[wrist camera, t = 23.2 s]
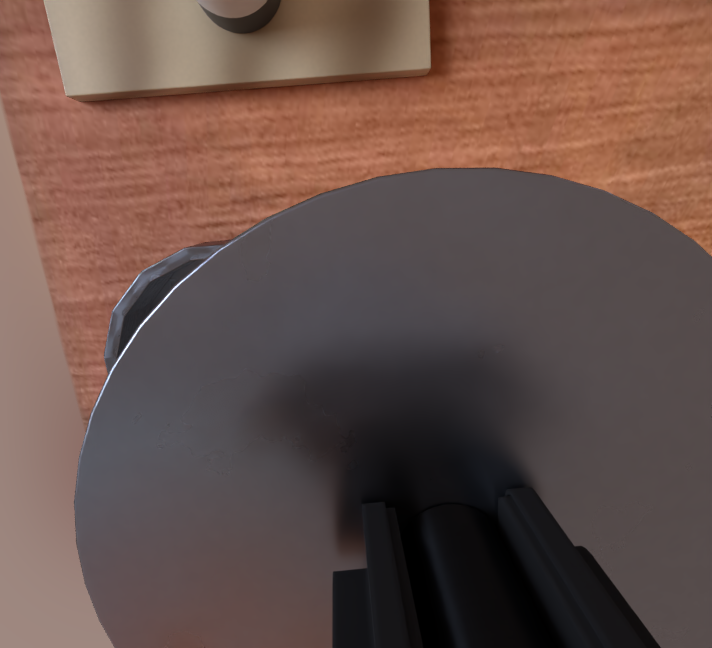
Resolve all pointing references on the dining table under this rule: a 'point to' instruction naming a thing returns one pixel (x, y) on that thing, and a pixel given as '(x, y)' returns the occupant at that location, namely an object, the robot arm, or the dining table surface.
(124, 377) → the lid
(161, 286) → the pan
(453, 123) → the dining table surface
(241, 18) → the cylinder
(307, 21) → the board
